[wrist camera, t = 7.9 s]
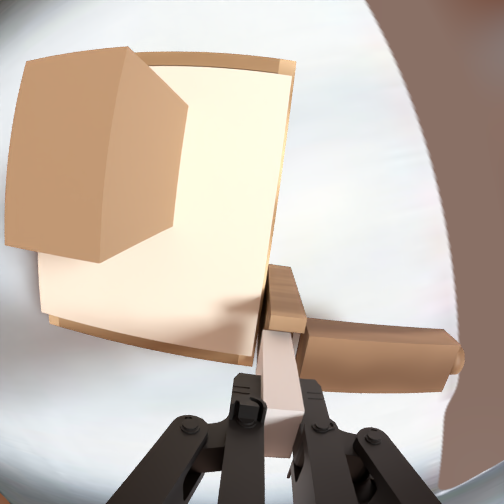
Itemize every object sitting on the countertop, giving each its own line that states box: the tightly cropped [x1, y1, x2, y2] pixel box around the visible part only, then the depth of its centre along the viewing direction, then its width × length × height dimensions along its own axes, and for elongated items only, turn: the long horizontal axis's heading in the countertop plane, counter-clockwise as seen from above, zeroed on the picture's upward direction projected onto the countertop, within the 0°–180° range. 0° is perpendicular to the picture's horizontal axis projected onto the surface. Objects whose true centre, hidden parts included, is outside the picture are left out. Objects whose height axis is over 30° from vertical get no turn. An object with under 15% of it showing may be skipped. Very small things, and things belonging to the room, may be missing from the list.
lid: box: [5, 46, 292, 357], centre depth 15 cm, size 17×16×11 cm
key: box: [295, 318, 465, 393], centre depth 18 cm, size 4×11×2 cm, turn 82°
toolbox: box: [49, 52, 307, 367], centre depth 20 cm, size 20×18×10 cm
